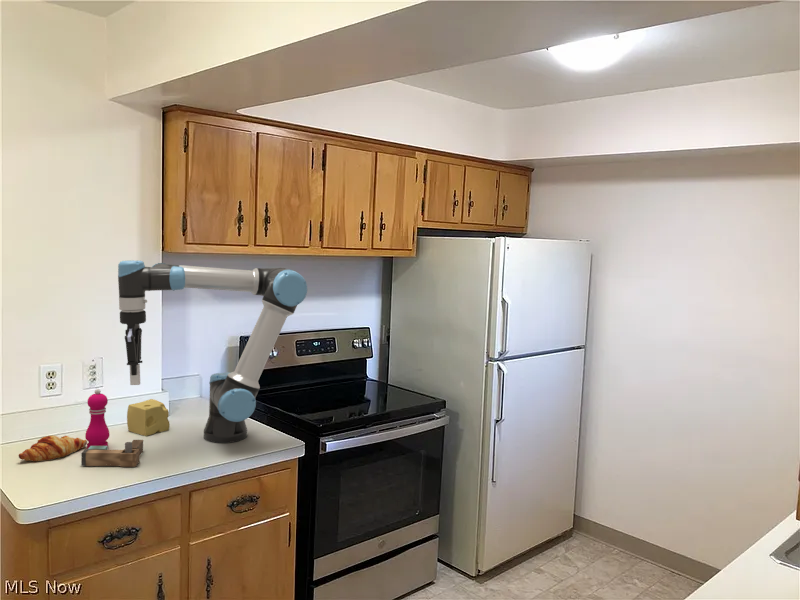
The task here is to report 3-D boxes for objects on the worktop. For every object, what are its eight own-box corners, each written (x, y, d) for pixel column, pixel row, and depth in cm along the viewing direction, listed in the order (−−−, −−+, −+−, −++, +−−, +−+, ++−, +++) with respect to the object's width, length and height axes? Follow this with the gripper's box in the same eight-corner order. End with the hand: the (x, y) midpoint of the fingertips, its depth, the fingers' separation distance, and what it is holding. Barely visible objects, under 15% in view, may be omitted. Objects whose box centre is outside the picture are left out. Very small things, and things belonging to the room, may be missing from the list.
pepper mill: (99, 453, 209) (99, 392, 207) (80, 450, 210) (80, 390, 208) (114, 446, 216) (114, 387, 214) (95, 443, 217) (95, 385, 215)
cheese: (169, 430, 235) (170, 403, 234) (144, 437, 226) (144, 409, 225) (151, 424, 241) (151, 398, 239) (125, 431, 231) (126, 404, 230)
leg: (139, 461, 203) (139, 448, 202) (135, 466, 198) (135, 453, 198) (85, 461, 200) (85, 448, 200) (80, 466, 196) (80, 453, 195)
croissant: (81, 455, 216) (75, 432, 217) (97, 447, 211) (91, 424, 212) (14, 471, 198) (9, 446, 200) (30, 463, 193) (24, 438, 194)
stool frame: (143, 451, 212) (143, 430, 211) (132, 466, 199) (132, 444, 199) (97, 451, 210) (98, 430, 209) (84, 466, 197) (84, 444, 197)
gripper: (140, 313, 195) (143, 389, 198) (149, 307, 207) (152, 379, 210) (114, 313, 193) (117, 390, 196) (124, 307, 206) (127, 379, 209)
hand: (135, 384), depth 203 cm, fingers closed
